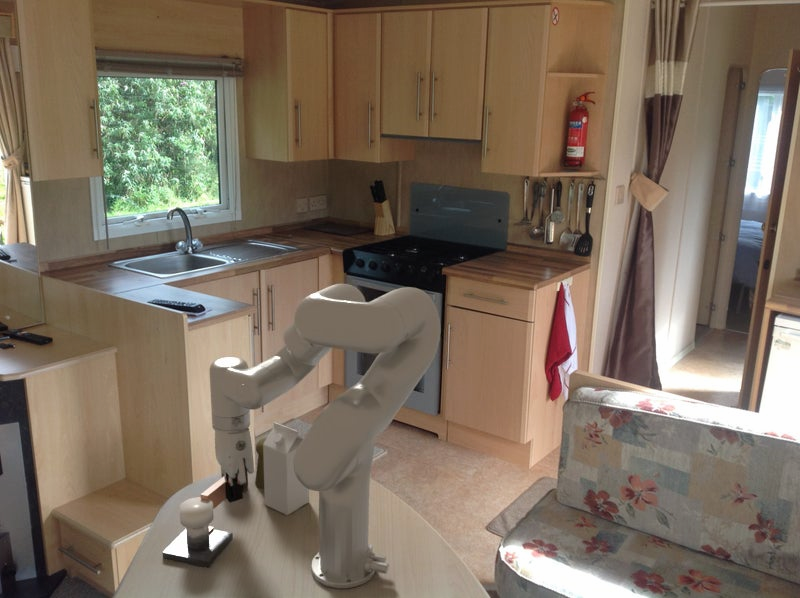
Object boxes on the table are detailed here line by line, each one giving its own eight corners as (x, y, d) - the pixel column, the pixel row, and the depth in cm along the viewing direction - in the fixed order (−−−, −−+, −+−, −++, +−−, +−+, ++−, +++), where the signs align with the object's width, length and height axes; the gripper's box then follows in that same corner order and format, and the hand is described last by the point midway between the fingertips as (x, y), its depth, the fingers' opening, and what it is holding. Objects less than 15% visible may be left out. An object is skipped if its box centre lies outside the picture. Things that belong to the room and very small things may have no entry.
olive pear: (275, 490, 172) (274, 448, 169) (251, 487, 173) (249, 444, 170) (284, 478, 178) (283, 436, 175) (260, 474, 179) (259, 433, 176)
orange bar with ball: (200, 531, 144) (199, 513, 143) (173, 523, 146) (172, 505, 145) (246, 492, 158) (245, 475, 157) (221, 485, 160) (220, 469, 159)
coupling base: (232, 539, 153) (231, 511, 151) (208, 568, 144) (206, 539, 142) (189, 530, 156) (188, 503, 154) (162, 558, 147) (160, 530, 145)
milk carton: (286, 492, 172) (285, 416, 166) (309, 502, 168) (308, 425, 162) (264, 505, 166) (262, 427, 161) (287, 516, 162) (286, 437, 157)
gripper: (263, 428, 145) (266, 511, 150) (235, 401, 157) (238, 478, 162) (226, 437, 141) (230, 521, 146) (200, 408, 153) (204, 488, 158)
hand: (234, 499), depth 154 cm, fingers closed
